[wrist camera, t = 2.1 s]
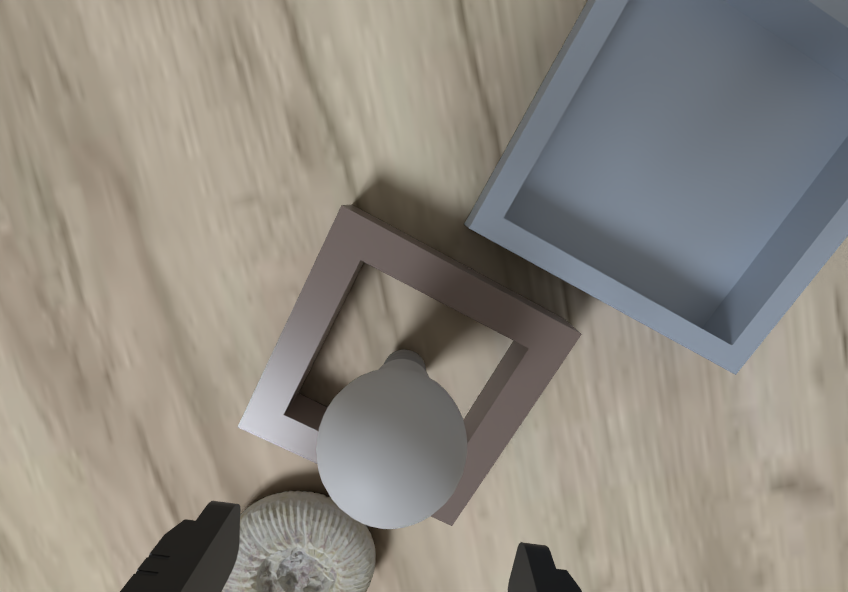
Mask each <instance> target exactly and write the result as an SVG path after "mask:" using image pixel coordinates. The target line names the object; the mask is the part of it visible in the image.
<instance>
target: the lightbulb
mask: <svg viewBox="0 0 848 592" xmlns="http://www.w3.org/2000/svg"><path fill="white" fill-rule="evenodd" d="M316 452H317V462H318V471H319V474H320V477H321V480H322V483H323V484H324V486H325V488H326V490H327V491H328V493H329V495H330V497H331V498H332V500H333V501H334V502H335V503H336V504H337V506H338V507H339V508H340V509H341V510H343V511H344V512H345V513H347V514H348V515H349V516H350V517H352V518H353V519H355V520H357V521H359V522H360V523H362V524H365V525H368V526H371V527H375V528H381V529H397V528H403V527H407V526H410V525H413V524H416V523H419V522H421V521H423V520H425V519H426V518H428V517H430V516H431V515H433V514H434V513H435V512H436V511H437V510H439V509H440V508H441V507H442V506H443V505H444V504H445V503H446V502H447V501H448V500H449V498H450V497H451V496H452V494H453V493H454V491H455V489H456V487H457V485H458V483H459V481H460V479H461V477H462V474H463V470H464V466H465V462H466V457H467V435H466V430H465V425H464V420H463V418H462V416H461V413H460V411H459V409H458V407H457V405H456V404H455V402H454V401H453V399H452V398H451V396H450V395H449V394H448V392H447V391H446V390H445V389H444V388H443V387H442V386H440V385H439V384H438V383H437V382H436V381H434V380H432V379H431V378H429V376H428V374H427V372H426V367H425V363H424V361H423V359H422V358H421V357H420V356H419V355H418V354H417V353H415V352H413V351H411V350H398V351H395V352H393V353H392V354H390V355H389V356H388V358H387V359H386V361H385V362H384V365H383V366H382V367H381V368H380V369H379V370H375V371H372V372H369V373H366V374H364V375H361V376H360V377H358V378H356V379H355V380H353V381H352V382H350V383H349V384H348V385H347V386H346V387H344V388H343V389H342V390H341V391H340V392H339V393H338V394H337V395H336V396H335V397H334V399H333V400H332V402H331V403H330V405H329V406H328V408H327V410H326V412H325V414H324V416H323V419H322V421H321V424H320V427H319V432H318V440H317V447H316Z"/></svg>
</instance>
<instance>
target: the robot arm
mask: <svg viewBox="0 0 848 592" xmlns="http://www.w3.org/2000/svg"><path fill="white" fill-rule="evenodd" d="M239 541H240V505H239V504H233V503H226V502H218V501H211V502H210V503H209V504H208V505H207V506H206V507H205V509H204V510H203V511H202V513H201V514H200V516H199V517H198V518H197V520H196V521H193V520H183V521H182V522H181V523H179V524H178V525H177V526H175V527H174V528H173V529H171V530H170V531H169V532H167V533H166V534H165V535H164V536H163V537H162V539H161V540H160V541H159V542H158V544H157V545H156V546H155V548H154V549H153V550H152V551H151V553H150V555H149V557H147V558H146V559H145V560H144V562H143V563H142V564H141V565H140V567H139V568H138V569H137V572H136V574H133V576H132V577H131V578H130V580H129V581H128V582H127V583H126V585H125V586H124V587H123V589H122V590H121V591H120V592H222V590H223V588H224V586H225V584H226V582H227V580H228V578H229V576H230V574H231V572H232V570H233V568H234V565H235V562H236V559H237V556H238V551H239ZM508 592H582V591H581V589H580V587H579V586H578V585H577V583H576V582H575V581H574V579H573V578H572V577H571V575H570V574H569V573H568V571H567V570H561V569H556V567H555V564H554V561H553V558H552V555H551V552H550V550H549V548H548V547H547V546H545V545H537V544H530V543H522V542H521V543H520V544H519V545H518V548H517V552H516V556H515V560H514V564H513V568H512V572H511V576H510V579H509V584H508Z"/></svg>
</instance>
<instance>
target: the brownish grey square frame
mask: <svg viewBox="0 0 848 592" xmlns="http://www.w3.org/2000/svg"><path fill="white" fill-rule="evenodd" d="M364 262H365V263H367V264H369V265H371V266H372V267H374V268H376V269H378V270H380V271H382V272H384V273H386V274H388V275H390V276H392V277H393V278H395V279H397V280H399V281H401V282H403V283H405V284H407V285H409V286H411V287H413V288H414V289H416V290H418V291H420V292H422V293H424V294H426V295H428V296H430V297H432V298H434V299H435V300H437V301H439V302H441V303H443V304H445V305H447V306H449V307H451V308H453V309H455V310H456V311H458V312H460V313H462V314H464V315H466V316H468V317H470V318H472V319H474V320H476V321H477V322H479V323H481V324H483V325H485V326H487V327H489V328H491V329H493V330H495V331H497V332H498V333H500V334H502V335H504V336H506V337H508V338H510V339H512V340H514V341H513V343H512V344H511V346H510V347H509V349H508V351H507V352H506V354H505V355H504V357H503V358H502V360H501V362H500V363H499V365H498V366H497V368H496V370H495V371H494V373H493V374H492V376H491V377H490V379H489V381H488V382H487V384H486V385H485V387H484V389H483V390H482V392H481V393H480V395H479V396H478V398H477V400H476V401H475V403H474V404H473V406H472V407H471V409H470V411H469V412H468V414H467V415H466V417H465V419H464V425H465V430H466V435H467V457H466V462H465V466H464V470H463V474H462V477H461V479H460V481H459V483H458V485H457V487H456V489H455V491H454V493H453V494H452V496H451V497H450V498H449V500H448V501H447V502H446V503H445V504H444V505H443V506H442V507H441V508H440V509H439V510H437V511H436V512H435V513H434V514H433V515H431V517H433V518H436V519H438V520H440V521H442V522H444V523H446V524H449V525H451V526H452V525H453V524H454V522H455V521H456V519H457V518H458V516H459V515H460V513H461V512H462V510H463V509H464V507H465V506H466V505H467V503H468V502H469V500H470V499H471V497H472V496H473V494H474V493H475V491H476V490H477V488H478V487H479V485H480V484H481V482H482V481H483V479H484V478H485V476H486V475H487V473H488V472H489V470H490V469H491V468H492V466H493V465H494V463H495V462H496V460H497V459H498V457H499V456H500V454H501V453H502V451H503V450H504V448H505V447H506V445H507V444H508V442H509V441H510V439H511V438H512V436H513V435H514V433H515V432H516V431H517V429H518V428H519V426H520V425H521V423H522V422H523V420H524V419H525V417H526V416H527V414H528V413H529V411H530V410H531V408H532V407H533V405H534V404H535V402H536V401H537V399H538V398H539V397H540V395H541V394H542V392H543V391H544V389H545V388H546V386H547V385H548V383H549V382H550V380H551V379H552V377H553V376H554V374H555V373H556V371H557V370H558V368H559V367H560V365H561V364H562V362H563V361H564V360H565V358H566V357H567V355H568V354H569V352H570V351H571V349H572V348H573V346H574V345H575V343H576V342H577V340H578V339H579V337H580V336H581V333H580V332H579V331H578V330H576V329H575V328H574V327H573V326H572V325H571V324H570V323H569V322H568V321H566V320H565V319H563V318H561V317H560V316H558V315H556V314H554V313H552V312H550V311H548V310H547V309H545V308H543V307H541V306H539V305H537V304H535V303H534V302H532V301H530V300H528V299H526V298H524V297H522V296H521V295H519V294H517V293H515V292H513V291H511V290H509V289H508V288H506V287H504V286H502V285H500V284H498V283H496V282H495V281H493V280H491V279H489V278H487V277H485V276H483V275H482V274H480V273H478V272H476V271H474V270H472V269H470V268H469V267H467V266H465V265H463V264H461V263H459V262H457V261H456V260H454V259H452V258H450V257H448V256H446V255H444V254H443V253H441V252H439V251H437V250H435V249H433V248H431V247H430V246H428V245H426V244H424V243H422V242H420V241H418V240H417V239H415V238H413V237H411V236H409V235H407V234H405V233H403V232H402V231H400V230H398V229H396V228H394V227H392V226H390V225H389V224H387V223H385V222H383V221H381V220H379V219H377V218H376V217H374V216H372V215H370V214H368V213H366V212H364V211H363V210H361V209H359V208H357V207H355V206H353V205H341V207H340V210H339V212H338V214H337V216H336V218H335V220H334V222H333V225H332V227H331V229H330V231H329V233H328V235H327V237H326V240H325V242H324V244H323V246H322V248H321V250H320V252H319V254H318V257H317V259H316V261H315V263H314V265H313V267H312V269H311V272H310V274H309V276H308V278H307V280H306V282H305V284H304V287H303V289H302V291H301V293H300V295H299V297H298V299H297V301H296V304H295V306H294V308H293V310H292V312H291V314H290V316H289V319H288V321H287V323H286V325H285V327H284V329H283V331H282V334H281V336H280V338H279V340H278V342H277V344H276V346H275V348H274V351H273V353H272V355H271V357H270V359H269V361H268V363H267V366H266V368H265V370H264V372H263V374H262V376H261V378H260V381H259V383H258V385H257V387H256V389H255V391H254V393H253V395H252V398H251V400H250V402H249V404H248V406H247V408H246V410H245V413H244V415H243V417H242V419H241V421H240V423H239V425H238V428H241V429H243V430H245V431H247V432H249V433H251V434H254V435H256V436H258V437H260V438H262V439H264V440H267V441H269V442H271V443H273V444H275V445H277V446H280V447H282V448H284V449H286V450H288V451H290V452H293V453H295V454H297V455H299V456H301V457H303V458H306V459H308V460H310V461H312V462H314V463H316V464H318V462H317V452H316V447H317V440H318V432H319V427H320V424H321V421H322V419H323V416H324V414H325V412H326V410H327V408H328V407H326V406H324V405H322V404H320V403H317V402H315V401H313V400H311V399H309V398H307V397H305V396H303V395H301V394H299V391H300V389H301V387H302V385H303V383H304V381H305V379H306V377H307V375H308V373H309V371H310V369H311V367H312V365H313V363H314V361H315V359H316V357H317V355H318V353H319V351H320V349H321V347H322V345H323V343H324V341H325V339H326V337H327V335H328V333H329V331H330V329H331V327H332V325H333V323H334V321H335V319H336V317H337V315H338V313H339V311H340V309H341V307H342V305H343V303H344V301H345V299H346V297H347V295H348V293H349V291H350V289H351V287H352V285H353V283H354V281H355V279H356V277H357V275H358V273H359V271H360V269H361V267H362V265H363V263H364Z"/></svg>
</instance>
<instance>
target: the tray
mask: <svg viewBox="0 0 848 592" xmlns="http://www.w3.org/2000/svg"><path fill="white" fill-rule="evenodd" d="M464 225H466V226H467V227H468V228H469V229H471V230H473V231H475V232H477V233H479V234H480V235H482V236H484V237H486V238H488V239H489V240H491V241H493V242H495V243H497V244H499V245H500V246H502V247H504V248H506V249H508V250H510V251H511V252H513V253H515V254H517V255H519V256H520V257H522V258H524V259H526V260H528V261H530V262H531V263H533V264H535V265H537V266H539V267H540V268H542V269H544V270H546V271H548V272H550V273H551V274H553V275H555V276H557V277H559V278H560V279H562V280H564V281H566V282H568V283H570V284H571V285H573V286H575V287H577V288H579V289H580V290H582V291H584V292H586V293H588V294H590V295H591V296H593V297H595V298H597V299H599V300H600V301H602V302H604V303H606V304H608V305H610V306H611V307H613V308H615V309H617V310H619V311H620V312H622V313H624V314H626V315H628V316H630V317H631V318H633V319H635V320H637V321H639V322H640V323H642V324H644V325H646V326H648V327H650V328H651V329H653V330H655V331H657V332H659V333H661V334H662V335H664V336H666V337H668V338H670V339H671V340H673V341H675V342H677V343H679V344H681V345H682V346H684V347H686V348H688V349H690V350H691V351H693V352H695V353H697V354H699V355H701V356H702V357H704V358H706V359H708V360H710V361H711V362H713V363H715V364H717V365H719V366H721V367H722V368H724V369H726V370H728V371H730V372H731V373H733V374H735V375H736V374H737V373H738V371H739V370H740V369H741V368H742V366H743V365H744V364H745V363H746V361H747V360H748V359H749V358H750V356H751V355H752V354H753V353H754V351H755V350H756V349H757V348H758V346H759V345H760V344H761V343H762V342H763V340H764V339H765V338H766V337H767V335H768V334H769V333H770V332H771V330H772V329H773V328H774V327H775V325H776V324H777V323H778V322H779V320H780V319H781V318H782V317H783V315H784V314H785V313H786V312H787V310H788V309H789V308H790V307H791V305H792V304H793V303H794V302H795V301H796V299H797V298H798V297H799V296H800V294H801V293H802V292H803V291H804V289H805V288H806V287H807V286H808V284H809V283H810V282H811V281H812V279H813V278H814V277H815V276H816V274H817V273H818V272H819V271H820V269H821V268H822V267H823V266H824V265H825V263H826V262H827V261H828V260H829V258H830V257H831V256H832V255H833V253H834V252H835V251H836V250H837V248H838V247H839V246H840V245H841V243H842V242H843V241H844V240H845V238H846V237H847V236H848V0H588V1H587V3H586V5H585V6H584V8H583V10H582V12H581V14H580V15H579V17H578V19H577V21H576V23H575V24H574V26H573V28H572V30H571V32H570V33H569V35H568V37H567V39H566V41H565V43H564V44H563V46H562V48H561V50H560V52H559V53H558V55H557V57H556V59H555V61H554V62H553V64H552V66H551V68H550V70H549V71H548V73H547V75H546V77H545V79H544V81H543V82H542V84H541V86H540V88H539V90H538V91H537V93H536V95H535V97H534V99H533V100H532V102H531V104H530V106H529V108H528V109H527V111H526V113H525V115H524V117H523V119H522V120H521V122H520V124H519V126H518V128H517V129H516V131H515V133H514V135H513V137H512V138H511V140H510V142H509V144H508V146H507V147H506V149H505V151H504V153H503V155H502V157H501V158H500V160H499V162H498V164H497V166H496V167H495V169H494V171H493V173H492V175H491V176H490V178H489V180H488V182H487V184H486V185H485V187H484V189H483V191H482V193H481V195H480V196H479V198H478V200H477V202H476V204H475V205H474V207H473V209H472V211H471V213H470V214H469V216H468V218H467V220H466V222H465V223H464Z"/></svg>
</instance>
